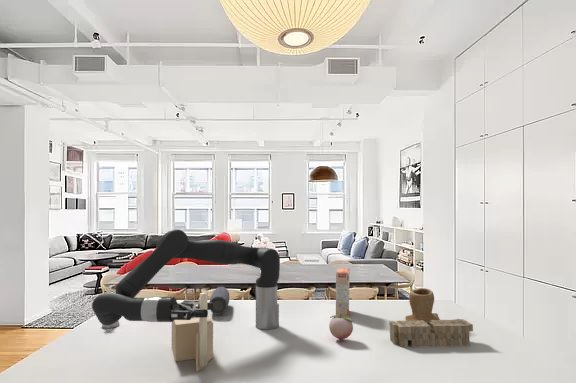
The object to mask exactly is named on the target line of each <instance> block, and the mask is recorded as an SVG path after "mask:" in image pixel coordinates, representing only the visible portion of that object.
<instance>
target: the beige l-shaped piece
mask: <svg viewBox="0 0 576 383" xmlns="http://www.w3.org/2000/svg"><path fill="white" fill-rule="evenodd" d="M199 300H200V309H207V303H208V292H200V293H199ZM212 358H214V322H213V321H212V322H211V323H209V324H208V325H207V317H199V332H198V333H196V359H195V372H196V373H197V372H200V371H201V369H203V368H204V367H206V366H207V365H208V362H210V361H211V359H212Z"/></svg>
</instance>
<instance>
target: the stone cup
mask: <svg viewBox="0 0 576 383" xmlns="http://www.w3.org/2000/svg"><path fill="white" fill-rule="evenodd" d="M408 299H409V305H410V308H411V314H410V315H406V316H405V317H404V318H405V319H404V320H405V321H406V320H408V321H417V320H419V321H420V320H423V321H425V322H426V323H427V324H428V325H430V324H429V322H430V321H431V320H441V319H440V317H439V313H437V312H435V313H433V307H434V303H435V296H434V292H433V291H432V290H431V289H429V288H426V287H425V288H424V287H419V288H415V289H412V290H410V292H409V297H408Z"/></svg>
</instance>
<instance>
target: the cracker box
mask: <svg viewBox="0 0 576 383" xmlns="http://www.w3.org/2000/svg"><path fill="white" fill-rule="evenodd" d="M349 311H350V268H348V267H347V268H346V267H338V268H337V270H336V272H335V315H338V316H340V314H341V317H348V318H349V314H350V313H349Z"/></svg>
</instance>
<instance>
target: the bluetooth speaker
mask: <svg viewBox="0 0 576 383" xmlns="http://www.w3.org/2000/svg"><path fill="white" fill-rule="evenodd" d="M208 303H214V309H213V310H210V312H211V313H212V314H215V315H221V314H223V313H225V312H226V310H227V309H228V307H229V304H230V293H229V290H228V289H227V287H224V286H218V287H216V288H214V290H213V291H212V293H211V296H210V298H209V301H208Z"/></svg>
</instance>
